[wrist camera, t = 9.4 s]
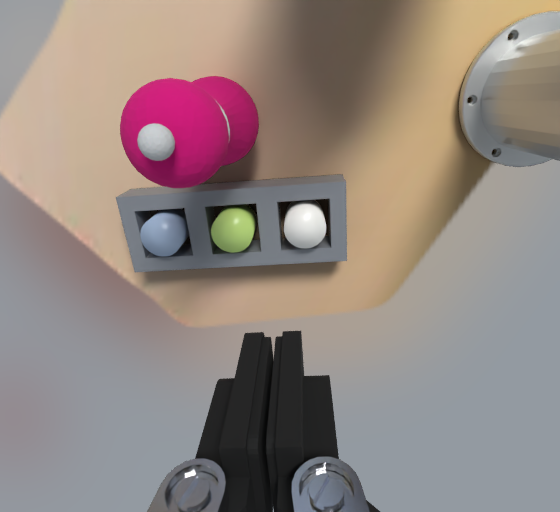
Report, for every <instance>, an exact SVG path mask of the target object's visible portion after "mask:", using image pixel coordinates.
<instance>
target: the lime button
mask: <svg viewBox="0 0 560 512" xmlns="http://www.w3.org/2000/svg"><path fill="white" fill-rule="evenodd" d="M256 225H257V217H256V214H255V212H254V211H253V209H252V208H251V207H250V206H248V205H247V204H239V205H226V206H225V207H224V208H223V209H222V211H221V212H220V214H219V215H218V217H217V218H216V220H215V221H214V223H213V225H212V228H211V235H212V238H213V241H214V242H215V244H216V245H217V246H218V247H219V248H220V249H222V250H224V251H226V252H231V253H235V252H240V251H242V250H244V249H246V248H247V247H248V246H249V245H250V243H251V241H252V238H253V235H254V232H255V229H256Z"/></svg>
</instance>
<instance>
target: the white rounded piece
mask: <svg viewBox="0 0 560 512" xmlns="http://www.w3.org/2000/svg"><path fill="white" fill-rule="evenodd" d="M284 233H285V236H286V238H287V240H288V241H289V242H290V243H291V244H292V245H294V246H296V247H298V248H312V247H314V246H316V245H318V244H319V243H320V242H321V241H322V240H323V238H324V236H325V234H326V222H325V218H324V213H323V210H322V207H321V206H320V204H319V203H318V202H316V201H315V200H299V201H293V202H292V203H291V204H290V205H289V206H288V208H287V210H286V213H285V222H284Z"/></svg>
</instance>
